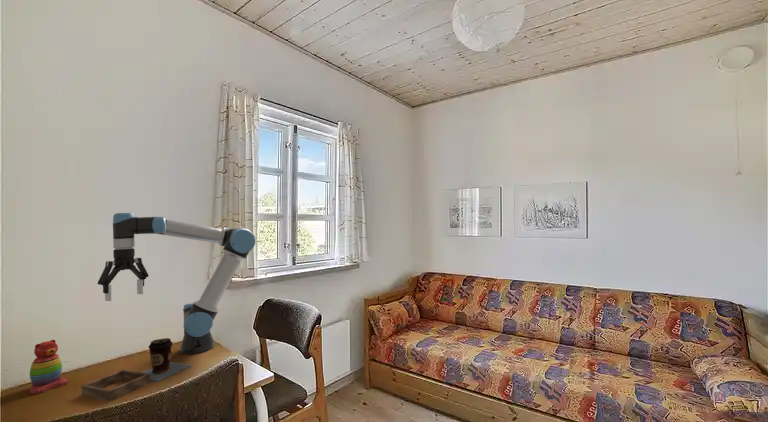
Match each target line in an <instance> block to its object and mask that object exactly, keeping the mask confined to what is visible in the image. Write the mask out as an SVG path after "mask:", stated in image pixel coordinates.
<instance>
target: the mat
mask: <svg viewBox="0 0 768 422" xmlns="http://www.w3.org/2000/svg"><path fill="white" fill-rule="evenodd" d="M191 367H192V364H189V363H181V362H175V361H174V362H173V361H170V364H169V368H170V370H169V371H167V372H164V373H157V374H155V373H152V370H153V367H152V368H150V369H147V370H145V371H142V373H148V374H150V382H155V383H159V382H161V381H162V380H163V381H164V380H165V379H168V378H169V377H171V376H173V375H175V374H178V373H179V372H182V371H185V370H186V369H188V368H191Z"/></svg>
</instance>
